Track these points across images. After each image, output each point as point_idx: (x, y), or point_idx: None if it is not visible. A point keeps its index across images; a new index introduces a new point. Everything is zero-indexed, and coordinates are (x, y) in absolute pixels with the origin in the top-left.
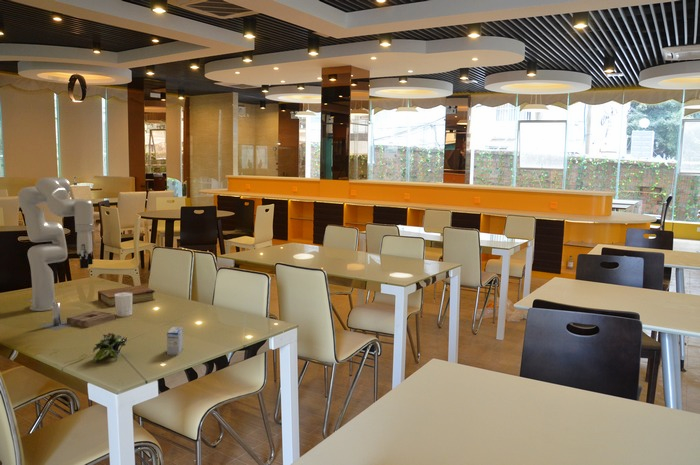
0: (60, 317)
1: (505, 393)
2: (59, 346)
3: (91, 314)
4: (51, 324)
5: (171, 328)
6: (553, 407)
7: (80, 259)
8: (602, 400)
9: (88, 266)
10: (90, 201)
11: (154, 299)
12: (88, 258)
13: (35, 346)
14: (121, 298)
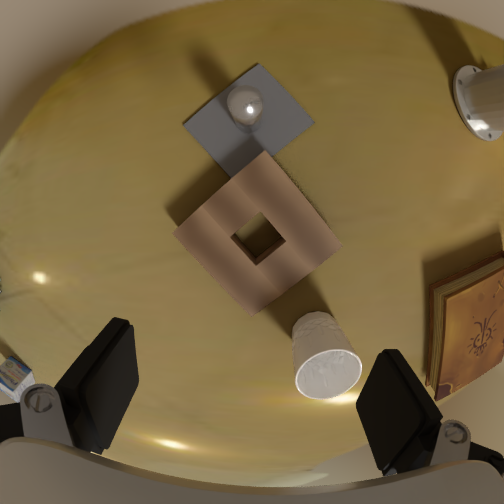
0: (243, 128)
1: None
2: (42, 170)
3: (285, 240)
4: (265, 101)
5: (6, 388)
6: None
7: (47, 386)
8: None
9: (131, 391)
10: None
11: (426, 385)
12: (388, 428)
13: (59, 111)
14: (296, 366)
